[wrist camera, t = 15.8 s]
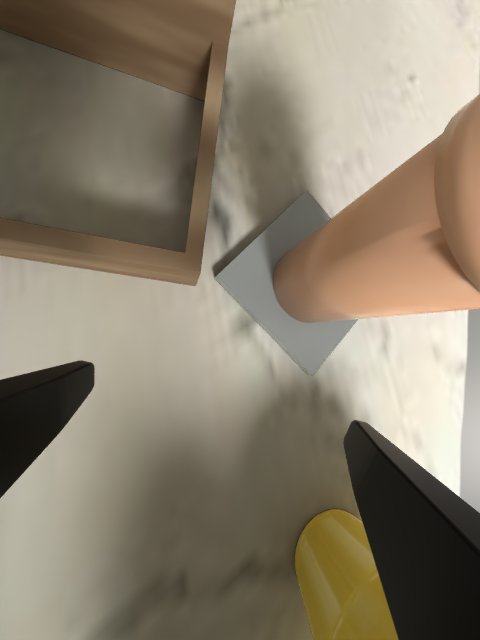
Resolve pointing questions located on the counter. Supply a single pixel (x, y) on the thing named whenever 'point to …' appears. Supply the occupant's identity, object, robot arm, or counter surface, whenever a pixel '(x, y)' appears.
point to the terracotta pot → (397, 240)
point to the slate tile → (258, 293)
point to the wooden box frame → (146, 63)
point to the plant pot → (341, 580)
